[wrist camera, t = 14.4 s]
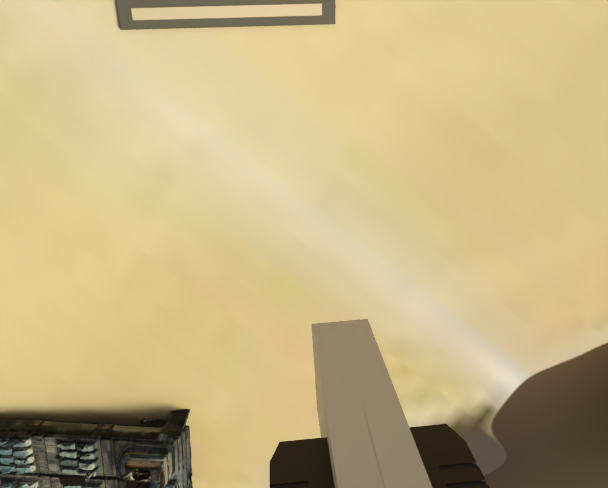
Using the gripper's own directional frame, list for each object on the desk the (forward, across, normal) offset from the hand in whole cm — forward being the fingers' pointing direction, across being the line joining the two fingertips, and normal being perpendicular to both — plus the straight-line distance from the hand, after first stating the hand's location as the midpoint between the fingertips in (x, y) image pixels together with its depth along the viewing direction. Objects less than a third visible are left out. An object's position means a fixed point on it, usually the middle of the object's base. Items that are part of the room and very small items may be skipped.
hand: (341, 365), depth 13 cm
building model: (+30, -28, -29) cm, 50 cm away
